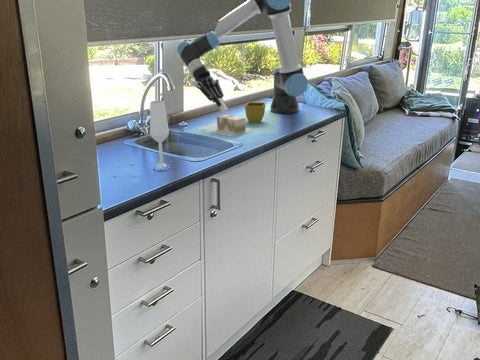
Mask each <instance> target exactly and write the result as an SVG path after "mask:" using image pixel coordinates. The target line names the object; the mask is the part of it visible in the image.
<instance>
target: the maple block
mask: <svg viewBox="0 0 480 360" xmlns="http://www.w3.org/2000/svg"><path fill="white" fill-rule="evenodd" d="M216 122H217V129H218V130H222V131H227V132H231V133H235V134H237V133H240V134H242V133H241V132H244V131H246V129H245V127H246V117H242V116H237V115H232V114H223V115H218V116H216ZM244 133H245V132H244ZM237 135H238V134H237Z"/></svg>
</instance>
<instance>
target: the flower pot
mask: <svg viewBox="0 0 480 360" xmlns="http://www.w3.org/2000/svg"><path fill="white" fill-rule="evenodd" d="M244 108H245V110H244V111H245V118H246V119H247V121H248V123H256V124H257V123H260V124H261V122H262V121H263V118H264V116H265V113H266V112H265V111H266V102H253V101H248V102H247V103H246V104H245V105H244Z"/></svg>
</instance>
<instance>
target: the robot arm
mask: <svg viewBox="0 0 480 360" xmlns="http://www.w3.org/2000/svg"><path fill="white" fill-rule="evenodd" d="M291 1H292V0H246V1H245V2H243V3H242V4H241V5H239V6H238V7H236V8H235V9H233V10H232V11H230V12H229V13H227V14H226V15H225V16H223V17H222V18H220V19H219V20H218V21H219V22H218V23H217V26H216V28H215V31H214V32H213V31H211V32H209V33H207V34H205V35H203V36H201V37H200V38H197V39H194V38H193V41H192V42H190V41H189V40H185V41H182V42H180V43H179V44H178V45H177V48H176V52H177V53H178V55H179V57H180V59H181V60H182V61H183V63H184V64H185V66H186V67H187V69H188V71H189V72H190V74H191V75H192V78H194V80H195V82H197V84H196V85H195V87H196V89H198V90H200V92H201V93H202V94H203V95H204V97H206V98H207V99H208V100H209V102H212V103H213V104H214V103H215V105H216V106H217V107H218V108H219V110H220V111H221V113H222V114H225V113H226V112H227V111H228V109H229V108H228V107H227V104H226V103H225V100H224V99H223V97H224V96H225V95H224V93H223V90H222V87H221V85H220V82H219V79H218V78H217V79H214V78H213V77H212V76H211V72H210V70H209V69H208V68H207V66H206V64H205V63H204V61H203V59H202V58H201V57H203V56H205V55H206V54H208V53H210V52H212V51H213V50H214V49H216V48H217V47H219V46H220V45H221V40H220V39H221V38H223V37H224V36H226V35H227V34H229V33H231V32H233V31H234V30H235V29H236V28H238V27H239V26H241V25H242V24H244V23H245V22H247V21H248V20H250V19H251V18H253V17H254V16H256V15H261V14H262V13H264V12H265V11H266V16H267V17H268V18H269V19H270V20H271V24H272V29H273V30H272V31H273V33H274V39H275V43H276V48H277V54H278V58H279V63H280V66H279V67H275V68H274V69H273V97H272V100H271V105H270V109H269V110H270V112H272V113H276V114H293V113H297V112H299V110H300V109H299V108H300V107H299V102H298V100H297V97H300V96H302V95H304V94H305V93H306V92H307V89H308V87H309V80H308V79H307V77H306V75H304V74H305V73H304V70H303V66H302V64H300V63H299V60H298V54H297V49H296V45H295V44H296V43H295V40H294V34H293V30H292V29H293V28H292V24H291V20H290V19H291V18H290V12H291V11H292V7H291Z"/></svg>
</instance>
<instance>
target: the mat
mask: <svg viewBox="0 0 480 360" xmlns="http://www.w3.org/2000/svg"><path fill="white" fill-rule="evenodd" d="M195 129H197V130H201V131H206V132H210V133H214V134H219V135H222V136H227V137H233V136H236V135H240V134H243V133H247V132H251V131H254V130H255V128H254V129H253V128H250V127H246V126H245V129H246V131H244V132H241V133H237V134H235V133H231V132H227V131H222V130H218V129H217V123H212V124H208V125H205V126H200V127H197V128H195Z"/></svg>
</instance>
